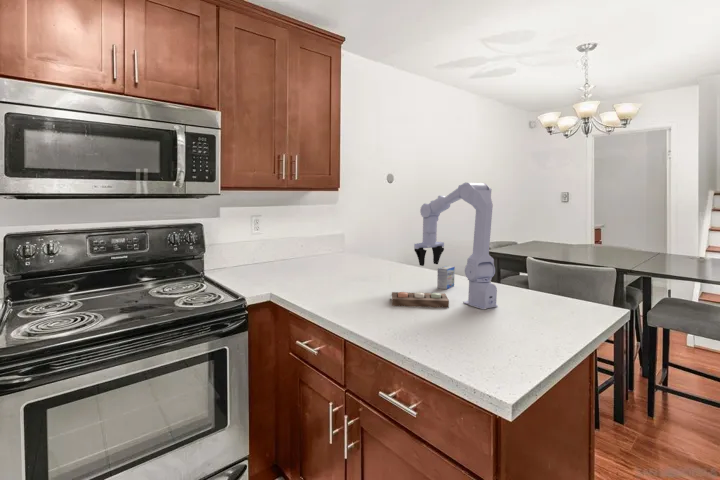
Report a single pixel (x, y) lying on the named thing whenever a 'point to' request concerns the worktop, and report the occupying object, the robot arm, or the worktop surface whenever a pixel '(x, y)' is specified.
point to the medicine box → (445, 277)
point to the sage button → (435, 295)
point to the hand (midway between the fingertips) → (428, 264)
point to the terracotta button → (403, 294)
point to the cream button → (418, 295)
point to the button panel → (420, 300)
